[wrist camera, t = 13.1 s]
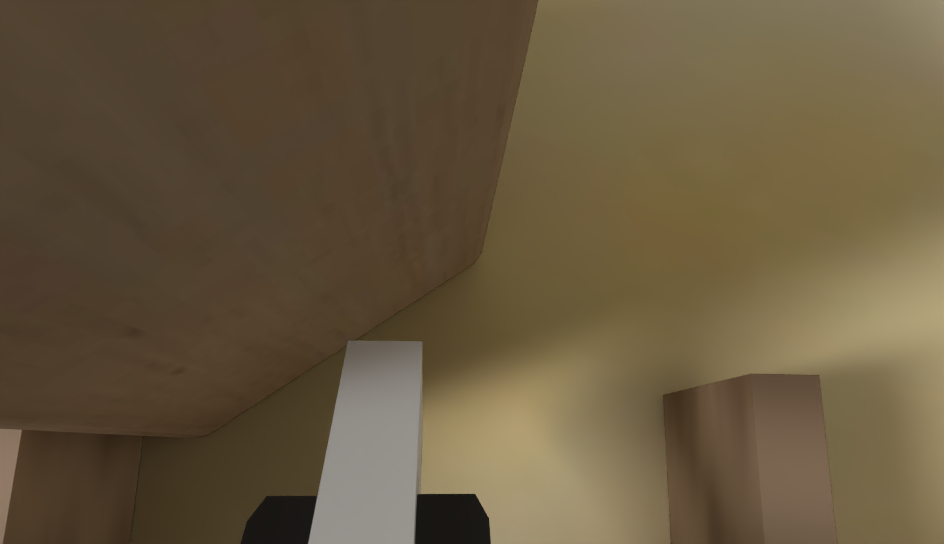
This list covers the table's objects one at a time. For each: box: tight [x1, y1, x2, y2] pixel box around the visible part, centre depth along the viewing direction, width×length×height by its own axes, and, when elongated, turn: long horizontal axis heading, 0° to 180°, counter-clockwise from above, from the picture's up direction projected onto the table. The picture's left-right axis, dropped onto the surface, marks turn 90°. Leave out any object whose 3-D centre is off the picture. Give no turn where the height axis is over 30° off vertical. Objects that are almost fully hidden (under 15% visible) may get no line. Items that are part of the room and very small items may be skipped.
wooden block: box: [0, 0, 538, 438], centre depth 12 cm, size 10×10×20 cm
